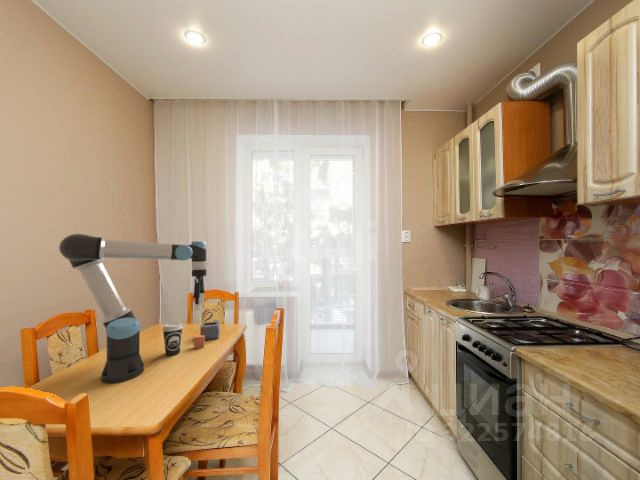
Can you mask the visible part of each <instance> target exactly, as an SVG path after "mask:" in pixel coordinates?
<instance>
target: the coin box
mask: <svg viewBox="0 0 640 480" xmlns="http://www.w3.org/2000/svg"><path fill="white" fill-rule="evenodd" d="M220 322H221V321H220V320H217V321H215V320H213V321H202V324H201V325H200V329H199V331H200V336H202V335H204V340H205V341H209V340H210V341H211V340H218V339H220V335H221V323H220Z"/></svg>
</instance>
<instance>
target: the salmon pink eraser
mask: <svg viewBox="0 0 640 480" xmlns="http://www.w3.org/2000/svg"><path fill="white" fill-rule="evenodd" d="M205 341H206V340H204V335H202V336H201V335H194V337H193V349H194V350H195V349H203V348H205V346H206V345H205Z"/></svg>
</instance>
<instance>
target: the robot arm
mask: <svg viewBox="0 0 640 480" xmlns="http://www.w3.org/2000/svg"><path fill="white" fill-rule="evenodd" d="M58 247H59V248H58V249H59V253H60V254H61V255H62V257H64V258H65V259H67V260H68V261H69V263H70V265H71V267H72V269H74V270H76V271H79V272H80V274H81V276H82V278H83V280H84V281H85V283H86V285H87V287H88V289H89V290H90V293H91V295H92V296H93V299H94V300H95V302H96V304H97V306H98V308H99V310H100V312H101V314H102V316H103V320H102V324H103V326H104V328H105V334H106V361H105V364H104V366H103V369H102V372H101V376H100V377H101V378H100V380H101V383H105V384H115V383H121V382H125V381H128V380H131V379H134V378H136V377H139V376H140V375H141V374H143V373H144V371H145V363H144V361H143V359H142V357H141V356H142V355H141V354H140V353H141V352H140V334H141V333H140V329H141V324H140V320H139V319H138V318H137V317H136V316H135V314H134V312H133V310H132V309H131V308H130V307H126V306H125V304H124V302H123V300H122V298H121V296H120V294H119V292H118V290H117V288H116V286H115V284H114V281H113V280H112V279H111V275H110V274H109V272H108V270H107V268H106V266H105V265H104V261H105V259H107V258H108V259H109V258H110V259H111V258H112V259H133V260H135V259H137V260H142V259H143V260H167V261H168V260H170V261H171V260H172V261H182V262H183V261H187V260H189V259H191V276H192V277H194V289H193V296H192V299H194V303H193V305H194V309H193V310H194V311H201V305H205V293H206V291H205V284H204V277H206V276H207V265H208V262H207V251H208V250H207V243H206V241H203V240H201V241H199V240H198V241H197V240H196V241H195V240H194V241H191V243H190V244H174V243H173V244H171V243H157V242H142V241H127V240H126V241H124V240H109V239H105V238H104V237H99V236H93V235H88V234H83V233H74V234H70V235H68V236H65V237H64V238H63V239H62V240H61V241H60V243H59V246H58Z"/></svg>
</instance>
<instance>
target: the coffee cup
mask: <svg viewBox="0 0 640 480" xmlns="http://www.w3.org/2000/svg"><path fill="white" fill-rule="evenodd" d="M183 328H184V326H183V324H182V323H181V322H176V321H175V322H170V323H166V324H164V326H163V327H162V330H161V331H163V339H164V342H163V343H164V351H165V356H166V357H172V356H177V355H179V354H180V352H181V343H182V332H183Z"/></svg>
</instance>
